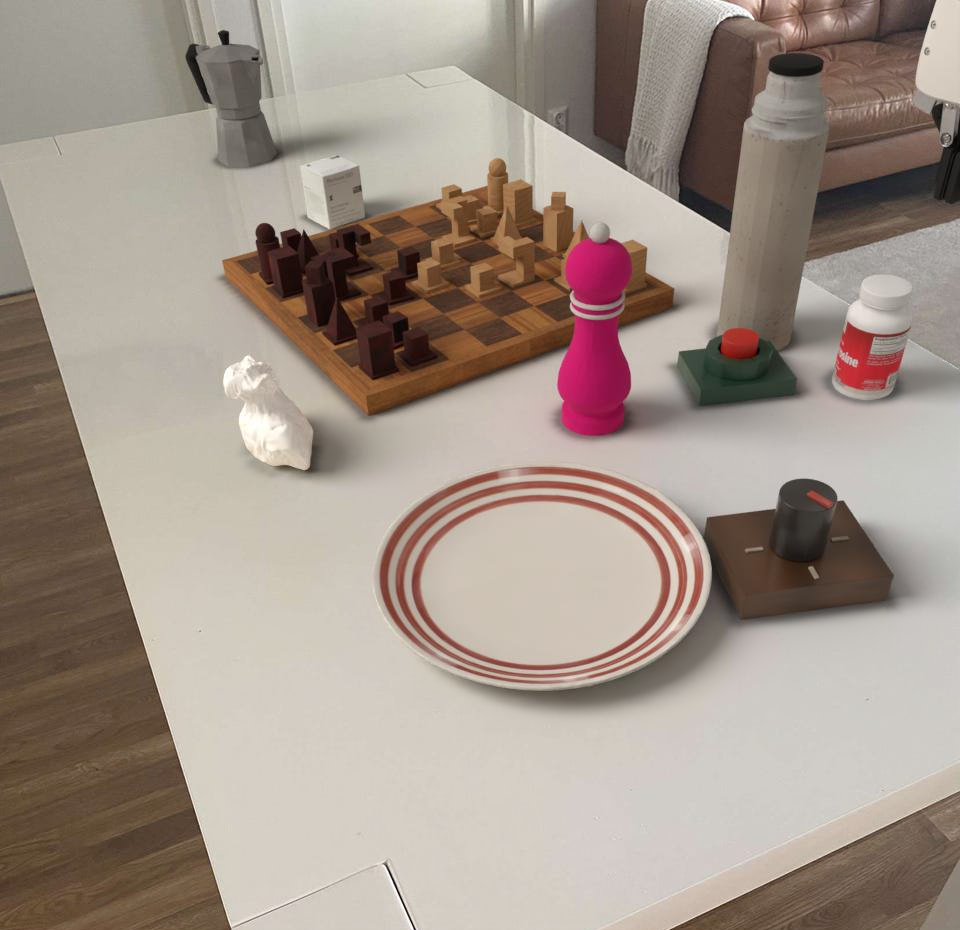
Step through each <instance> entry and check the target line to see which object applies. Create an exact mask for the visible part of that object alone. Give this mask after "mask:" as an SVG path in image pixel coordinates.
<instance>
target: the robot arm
mask: <svg viewBox="0 0 960 930" xmlns="http://www.w3.org/2000/svg"><path fill="white" fill-rule="evenodd" d="M932 9H933V10H932V13H931V16H930V19H929V21H928V22H929V23H928V25H927V28H926V32H925V35H924V39H923V42H922V46H921V48H920V49H921V50H920V53H919V58H918V61H917V67H916V73H915V80H914V81H915V88H916V90H915V92H914V94H913V96H912V104H913V106H914V107H915V108H917V109H918V110H919V111H922V112H923V113H925V114H926V115H928V116H931V117H932V119H933V122H934V124H935V126H936V128H937V130H938V132H939V135H938V142H939V145H940V146H941V147H943V148H942V153H941V155H940V159H939V160H940V161H939V163H938V167H937V170H936V174H935V179H934V182H935V184H936V186H935V190H934V193H933V199H934V200H937V201H941V202H942V201H944V202H945V204H950V205H954V204H956V203H958V202H960V0H936V1H935V2H934V7H933V8H932Z"/></svg>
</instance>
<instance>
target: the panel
mask: <svg viewBox="0 0 960 930" xmlns="http://www.w3.org/2000/svg"><path fill="white" fill-rule="evenodd" d="M775 510H776V508H769V509H762V510H754V511H748V512H747V511H746V512H738V513H737V512H736V513H731V514H729V513H728V514H722V515H713V516H706V519H705V527H704V534H703V539H704V541H705V543H706V546H707V548H708V552H709V555H710V560H711V562H712V563H713V565H714V567H715V569H716V572H717V573H718V575H719V578H720V580H721V582H722V584H723V586H724V588H725V590H726V592H727V594H728V597H729V599H730V600H731V603H732V604H733V606H734V609H735V611H736V613H737V615H738V618H739V620H741V621H743V620H749V619H750V620H751V619H758V618H759V619H760V618H765V617H773V616H781V615H788V614H789V615H790V614H797V613H802V612H803V613H804V612H810V611H818V610H826V609H833V608H841V607H848V606H849V607H850V606H856V605H857V606H858V605H865V604H871V603H880V602H886V601H887V600H888V597H889V592H890V589H891V586H892V583H893V581H894V577H895V574H894V573H893V572H892V570H891V569H890V567H889V565H888V564H887V562H886V561H885V560H884V558H883V557H882V555H881V554H880V552H879V551H878V549H877V547H875V545H874V543H873V542H872V541H871V539H870V537H869V536H868V535H867V533H866V532H865V530H864V529H863V527H862V525H861V524H860V523H859V521H858V520H857V518H856V517H855V515H854V513H853V512H852V510H851V509H850V508H849V506H848V505H847V503H846V502H845V500H844V499H842V500H841V499H840V500H837V504H836V508H835V512H834V516H833V520H832V524H831V528H830V532H829V536H828V540H827V544H826V548H825V551H824V553H823V554H822V555H821V556H820V557H819V558H817V559H814V560H811V561H805V562H798V561H792V560H788V559H785V558H783V557H781V556H779V555H778V554H776V553H775V552H774V551H773V550H772V548H771V546H770V543H769V540H770V535H771V530H772V525H773V520H774V515H775Z"/></svg>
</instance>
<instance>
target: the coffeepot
mask: <svg viewBox="0 0 960 930" xmlns="http://www.w3.org/2000/svg"><path fill="white" fill-rule="evenodd" d="M217 35H218V38H219V40H220V44H219V45H214V46H212V47H211V46H210V45H207V44H198V43H191V44H189V45H188V47H187V50H186V52H185V61H186V64H187V66H188V68H189V70H190V72H191V74H192V77H193V80H194V83H195V84H196V86H197V88H198V91H199V93H200V95H201V98H202V100H203V101H204V103H206V104H209V105H213V106H214V107H215V110H216V114H217V115H216V116H217V117H216V119H215V124H216V125H215V126H216V141H217V142H216V143H217V159H218V162H220V163H221V164H223V165H224V166H225V167H228V168H251V167H255V166H259V165H262V164H266V163H270V162H272V160H273V159H274V158H275V157H276V156H277V154H278V152H277V149H276V146H275V143H274V140H273V137H272V134H271V132H270V128H269V126H268V123H267V119H266V117H265V114H264V112H262V110H261V109H262V108H261V104H260V101H261V99H262V75H261V74H262V73H261V66H262V65H264V58H262V57H261V55H260V49H258V48H256V47H254V46H252V45H249V44H240V43H239V44H238V43H230V31H229V30H225V29H222V30H220V31H218V32H217Z"/></svg>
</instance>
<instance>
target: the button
mask: <svg viewBox="0 0 960 930" xmlns="http://www.w3.org/2000/svg"><path fill="white" fill-rule="evenodd" d="M758 341H759V336H758V334H757V333H756V332H754V331H752V330H750V329H746V328H733V329H729V330H727V331H725V332H724V334H723V337H722V344H721V353H722V354H723V355H725V356H727V357H729V358H734V359H740V360H741V359H750V358H752V357H754V356H755V355H756V353H757V347H758Z"/></svg>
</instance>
